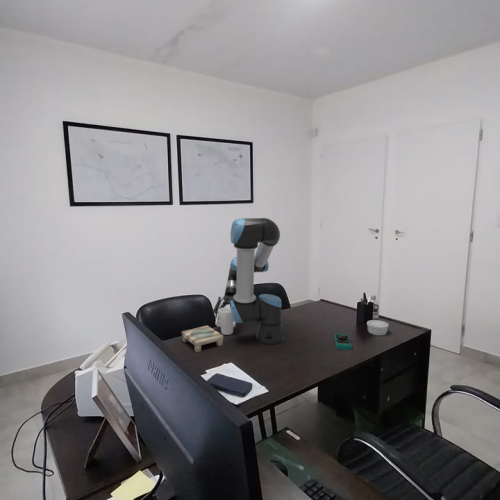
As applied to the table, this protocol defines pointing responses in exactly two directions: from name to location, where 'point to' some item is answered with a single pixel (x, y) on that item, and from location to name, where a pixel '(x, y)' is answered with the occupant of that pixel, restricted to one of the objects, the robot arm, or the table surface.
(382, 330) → the ramekin
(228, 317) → the foam cup
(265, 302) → the robot arm
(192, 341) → the stand
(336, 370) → the table surface
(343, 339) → the digital multimeter
